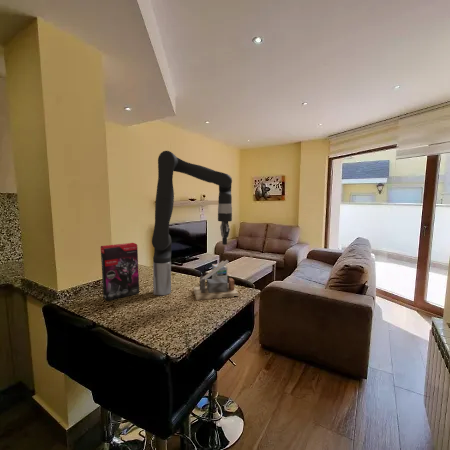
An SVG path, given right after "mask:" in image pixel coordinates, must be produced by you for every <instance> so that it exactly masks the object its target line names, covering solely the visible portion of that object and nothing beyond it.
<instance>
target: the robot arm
mask: <svg viewBox="0 0 450 450" xmlns="http://www.w3.org/2000/svg"><path fill="white" fill-rule="evenodd" d="M157 171H158V173H157V175H158V177H157V178H158V179H157V185H156V195H155V203H154V204H155V205H154V207H155V208H154V227H153V233H152V237H151V245H152V246H153V248H154V251H153V257H152V258H153V259H152V260H153V261H152V262H153V263H152V264H153V268H152V269H153V271H152V272H153V275H152V277H153V278H152V281H153V282H152V287H153V290H152V291H153V295H154V296H155V295H156V296H167V295H169V294H171V293H172V236H171V235H170V222H171V218H172V214H173V210H174V203H175V202H174V201H175V192H174V191H175V189H174V179H173V177H174V176H173V175H174V172H176V173H181V174H184V175H187V176H190V177H193V178H195V179H197V180H201V181H203V182H206V183H209V184H214V185H216V186H218V199H217V200H218V201H217V203H218V205H217V222H221V223H220V226H219V227H220V228H219V229H220V233H221V234H220V235H221V240H222V245H224V246H225V245H227V244H228V238H229V235H230V231H231V229H230V224H229V222H232V221H233V207H232V206H233V205H232V203H233V199H232V197H233V196H232V183H233V179H232V178H233V177H231V175H230V174H228V173H224V172H221V171H217V170H214V169H211V168H208V167H205V166H202V165H199V164H195V163H191V162H188V161H185V160H183V159H181V158H179V157H177V156H176V154H174V153H173V152H172V151H170V150H164V151H162V152H160V153H159V154H158V158H157Z"/></svg>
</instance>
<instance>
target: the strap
mask: <svg viewBox="0 0 450 450" xmlns="http://www.w3.org/2000/svg"><path fill="white" fill-rule="evenodd" d="M229 263H230V262H229V260H228V259H226V260H221V261H220V262H219V263H217V264H218V266H217V267H216V268H215V269H213V270H212V269H211V271H210V272H208V273H207V274H205V275H203V276H204V277H203V278H201V279H205V281H207V279H210V277H212V275H213V274H214V273H215V272H217V271H218V270H219V269H221V268H222V267H223V266H226V265H227V264H229ZM201 279H200V278H199V281H200V280H201Z"/></svg>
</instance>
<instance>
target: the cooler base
mask: <svg viewBox="0 0 450 450" xmlns="http://www.w3.org/2000/svg"><path fill="white" fill-rule="evenodd" d="M204 276H205V275H202V276H199V286H193V292H194V295H195V296H194V297H195V299H196V300H197V301H199V300H211V299H213V298H214V299H223V298H222V297H227V298H235V297H234V296H238V297H239V292H238V291H237V289H236V288H235V280H234V279H233V278H232V277H228V280H227V281H226V280H225V278H218V279H212V278H207V279H206V280H205V279H201V278H203V277H204ZM200 279H201V280H200Z"/></svg>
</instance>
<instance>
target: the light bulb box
mask: <svg viewBox="0 0 450 450" xmlns="http://www.w3.org/2000/svg"><path fill="white" fill-rule="evenodd" d="M218 264H219V263H211V271H212V270H213V269H215V268H216V267H217V266H218ZM218 278H225V280H226V281H227V282H228V266H226V265H225V266H223V267H222V268H221V269H219V270H218V271H217V272H215V273H214V274H213V275H211V279H218Z"/></svg>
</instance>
